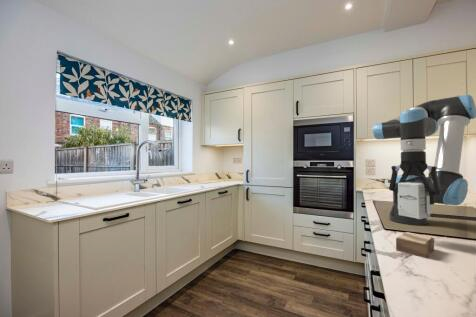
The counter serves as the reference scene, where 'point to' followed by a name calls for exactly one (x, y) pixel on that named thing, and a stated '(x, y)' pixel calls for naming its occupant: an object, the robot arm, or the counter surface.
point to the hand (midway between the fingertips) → (414, 211)
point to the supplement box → (412, 200)
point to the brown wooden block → (415, 244)
